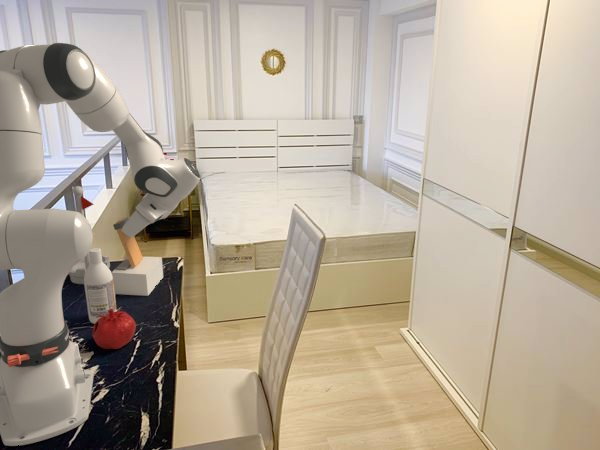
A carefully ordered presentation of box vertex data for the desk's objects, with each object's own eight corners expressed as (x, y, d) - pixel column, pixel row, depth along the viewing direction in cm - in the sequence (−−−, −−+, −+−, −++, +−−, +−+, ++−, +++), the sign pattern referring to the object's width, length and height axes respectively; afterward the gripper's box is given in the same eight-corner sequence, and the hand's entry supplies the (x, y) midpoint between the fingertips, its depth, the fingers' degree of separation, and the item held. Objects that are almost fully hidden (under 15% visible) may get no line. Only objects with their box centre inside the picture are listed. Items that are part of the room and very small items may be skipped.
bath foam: (120, 319, 122) (113, 250, 116) (93, 328, 118) (84, 256, 112) (112, 309, 127) (104, 242, 121) (86, 317, 123) (76, 248, 117)
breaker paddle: (144, 258, 142) (127, 217, 138) (136, 266, 136) (118, 223, 132) (139, 259, 143) (122, 218, 139) (130, 267, 137) (113, 224, 133)
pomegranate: (144, 335, 116) (142, 302, 113) (119, 357, 107) (116, 322, 104) (111, 328, 118) (108, 295, 115) (84, 348, 109) (80, 314, 106)
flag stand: (57, 281, 143) (42, 189, 133) (87, 266, 155) (75, 179, 145) (91, 288, 139) (79, 193, 130) (119, 271, 151) (110, 183, 142)
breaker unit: (163, 277, 148) (161, 255, 145) (148, 295, 135) (145, 272, 133) (131, 275, 148) (129, 254, 146) (113, 293, 136) (111, 270, 134)
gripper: (162, 187, 142) (135, 216, 146) (135, 205, 123) (105, 238, 127) (177, 201, 143) (150, 229, 147) (153, 222, 124) (122, 253, 128)
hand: (129, 233), depth 137 cm, fingers closed, pressing on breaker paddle
